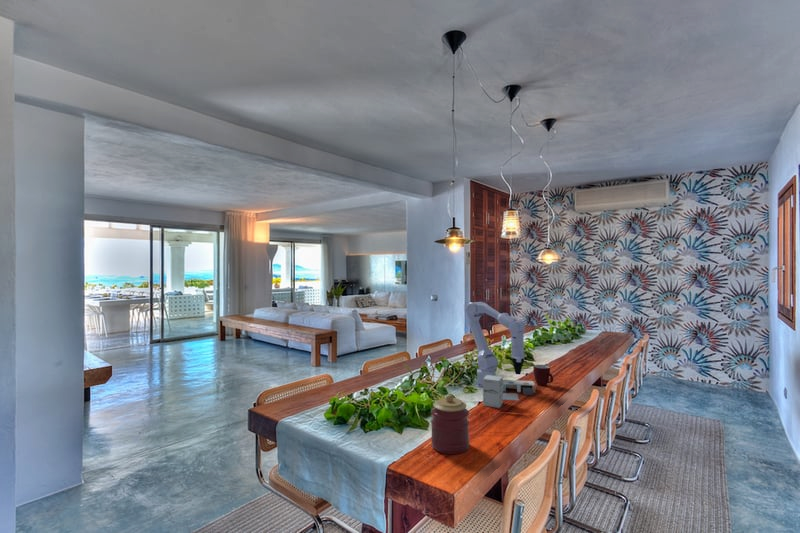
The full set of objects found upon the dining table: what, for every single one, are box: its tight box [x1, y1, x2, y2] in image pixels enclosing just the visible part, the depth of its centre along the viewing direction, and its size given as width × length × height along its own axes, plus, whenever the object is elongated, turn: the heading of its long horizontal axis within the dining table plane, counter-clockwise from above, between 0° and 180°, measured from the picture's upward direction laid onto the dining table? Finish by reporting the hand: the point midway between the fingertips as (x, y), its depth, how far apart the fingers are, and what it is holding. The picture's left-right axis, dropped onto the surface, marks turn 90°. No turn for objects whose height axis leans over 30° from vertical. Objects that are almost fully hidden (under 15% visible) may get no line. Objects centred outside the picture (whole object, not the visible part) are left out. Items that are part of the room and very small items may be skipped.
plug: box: [521, 385, 534, 396], centre depth 187 cm, size 4×8×4 cm, turn 176°
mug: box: [532, 364, 554, 387], centre depth 198 cm, size 11×8×10 cm
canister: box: [430, 393, 470, 455], centre depth 132 cm, size 13×13×18 cm
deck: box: [503, 392, 520, 402], centre depth 181 cm, size 8×10×1 cm
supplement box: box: [482, 375, 504, 409], centre depth 171 cm, size 7×7×13 cm
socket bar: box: [503, 379, 536, 394], centre depth 190 cm, size 15×7×5 cm, turn 77°
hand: (517, 374), depth 186 cm, fingers closed
